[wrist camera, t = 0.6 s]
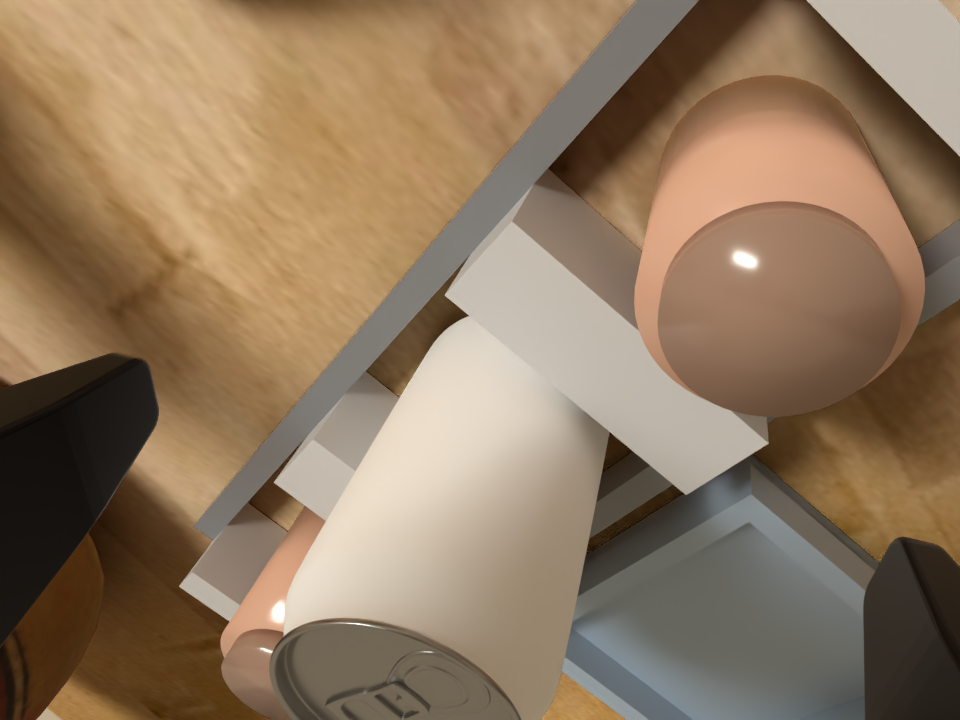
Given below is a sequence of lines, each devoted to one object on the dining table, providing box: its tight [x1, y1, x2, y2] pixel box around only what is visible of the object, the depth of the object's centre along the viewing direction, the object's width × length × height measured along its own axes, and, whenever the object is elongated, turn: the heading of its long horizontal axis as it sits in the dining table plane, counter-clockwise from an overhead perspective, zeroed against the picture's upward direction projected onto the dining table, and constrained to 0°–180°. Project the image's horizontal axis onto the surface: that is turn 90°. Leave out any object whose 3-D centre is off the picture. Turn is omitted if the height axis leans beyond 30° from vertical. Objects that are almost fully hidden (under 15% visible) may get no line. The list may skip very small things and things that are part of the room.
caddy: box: [179, 0, 960, 622], centre depth 24 cm, size 11×30×4 cm, turn 142°
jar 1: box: [220, 506, 326, 720], centre depth 28 cm, size 5×5×8 cm
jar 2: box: [634, 76, 925, 417], centre depth 16 cm, size 5×5×8 cm
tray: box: [562, 454, 879, 720], centre depth 28 cm, size 12×12×2 cm
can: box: [269, 316, 610, 720], centre depth 21 cm, size 6×6×12 cm
